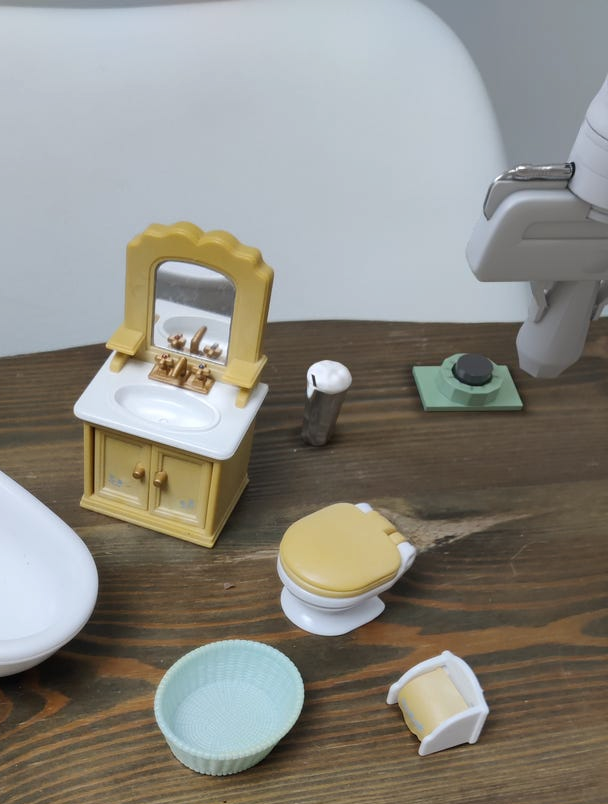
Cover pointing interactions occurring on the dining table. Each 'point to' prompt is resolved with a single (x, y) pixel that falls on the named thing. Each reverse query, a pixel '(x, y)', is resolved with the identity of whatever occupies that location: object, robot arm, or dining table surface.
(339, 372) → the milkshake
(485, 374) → the button
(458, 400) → the green base push button
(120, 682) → the dining table surface
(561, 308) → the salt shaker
